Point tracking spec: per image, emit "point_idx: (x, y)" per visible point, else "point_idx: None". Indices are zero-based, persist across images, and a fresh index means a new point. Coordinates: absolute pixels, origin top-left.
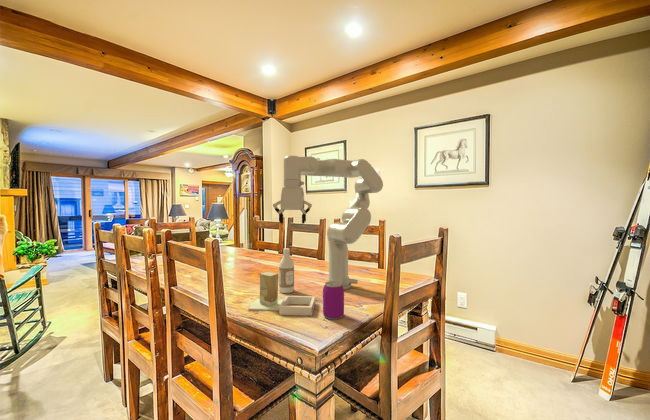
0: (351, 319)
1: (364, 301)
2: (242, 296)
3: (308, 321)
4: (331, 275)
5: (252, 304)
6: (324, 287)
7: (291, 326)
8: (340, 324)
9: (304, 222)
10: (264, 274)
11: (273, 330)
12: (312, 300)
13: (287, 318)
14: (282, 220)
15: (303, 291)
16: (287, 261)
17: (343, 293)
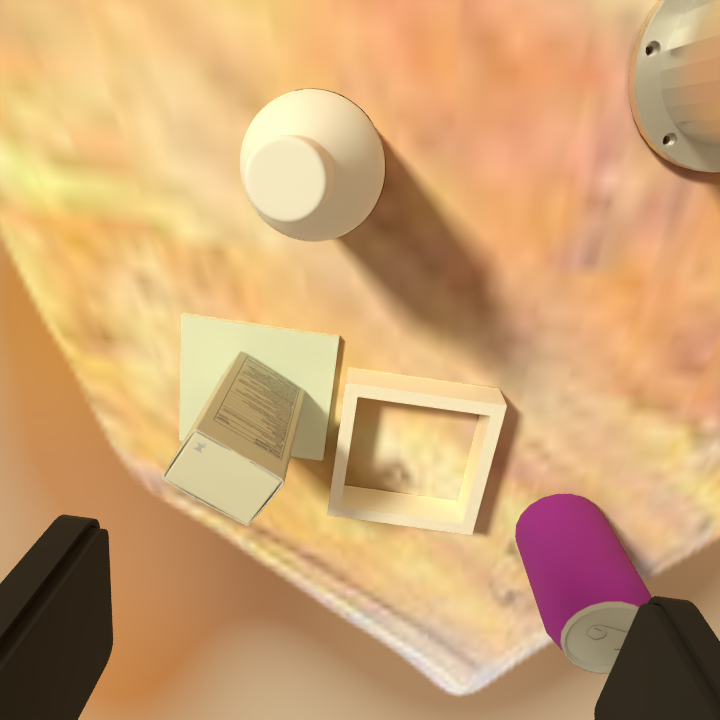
0: None
1: None
2: (77, 245)
3: (449, 556)
4: (714, 112)
5: (182, 396)
6: (553, 634)
7: (385, 584)
8: None
9: (687, 610)
10: (196, 492)
11: (325, 603)
12: (485, 460)
13: (367, 527)
14: (79, 651)
15: (448, 172)
16: (321, 231)
17: None
